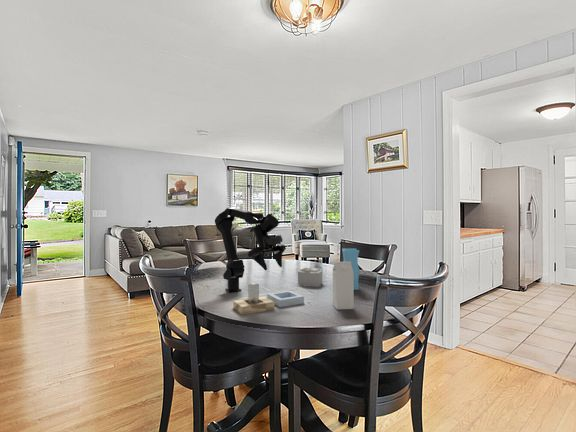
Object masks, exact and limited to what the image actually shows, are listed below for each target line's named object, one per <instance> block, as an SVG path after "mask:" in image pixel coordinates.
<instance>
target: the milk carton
mask: <svg viewBox="0 0 576 432" xmlns="http://www.w3.org/2000/svg"><path fill="white" fill-rule="evenodd" d="M354 291H355V290H354V274H353V269H352V265H351V262H343V261H334V263H333V268H332V305H333V307H334V308H335V309H336V310H339V311H340V310H354V309H355V308H354V306H355V305H354V302H355V301H354V300H355V299H354Z"/></svg>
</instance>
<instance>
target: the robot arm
mask: <svg viewBox="0 0 576 432" xmlns="http://www.w3.org/2000/svg"><path fill="white" fill-rule="evenodd" d="M236 218H238V219H240V220H244V221H245V223H247V224H248V225H252V226H251V228H250V231H249V232H250V233H253V234H254V237H255V239H256V241H255V244H256V245H257V244H258V247H253V248H252V249H250V250H248V254H247V256H248V259H251V260H253V261H255V263H257V264H258V265H259V266H260V267H261V268H262V269H263V270H264V271H267V270H268V267H267V264H266V260H265V254H269V253H271V254H272V257H273V258H274V260H275V262H276V264H277V265H278V266H279V268H282V267H283V259H282V258H283V253H284V252H285V250H286V249H287V248H286V245H285V244H282V242H284V241H283V237H282V235H281V234H278V235H275V237H272V236H271V235H269V233H270V232H271V231H273V230H275V228H277V227H278V226H279V220H278V219H277V218H276V216H274V215H273V214H272V213H267V214H266V215H264V213H263V212H262V211H247V210H244V209H239V208H236V207H227V208H225V209H224V210H223V211H221V212H220V213H219V214H218V215H217V216H216V217H215V219H214V223H215V227H216V229H217V230H218V231H219V232H220V234H221V237H222V240H223V245H224V246H223V247H224V249H225V254H226V258H227V262H226V265H225V266H226V270H225V271H224V273H223V275H222V277H223V279H224V280H226V281H227V288H225V291H227V292H228V293H235V292H242V289H241V288H240V279H241V278H243V277H244V274H245V265H244V260H243V259H242V258H241V259H240V258H239V257H238V253H237V250H236V246H235V242H234V238H233V234H232V228H233V222H234V221H235V219H236Z"/></svg>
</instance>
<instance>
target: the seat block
mask: <svg viewBox="0 0 576 432" xmlns="http://www.w3.org/2000/svg"><path fill="white" fill-rule="evenodd" d="M266 298H268V299H270V300H272V301H274V304H275V306H276V307H278V308H283V307H289V306H295V305H302V304H305V296H304V295H302V294H300V293H297V292H295V291H294V290H293V291H292V290H286V291H278V292H272V293H270V292H269V293H267V294H266Z"/></svg>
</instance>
